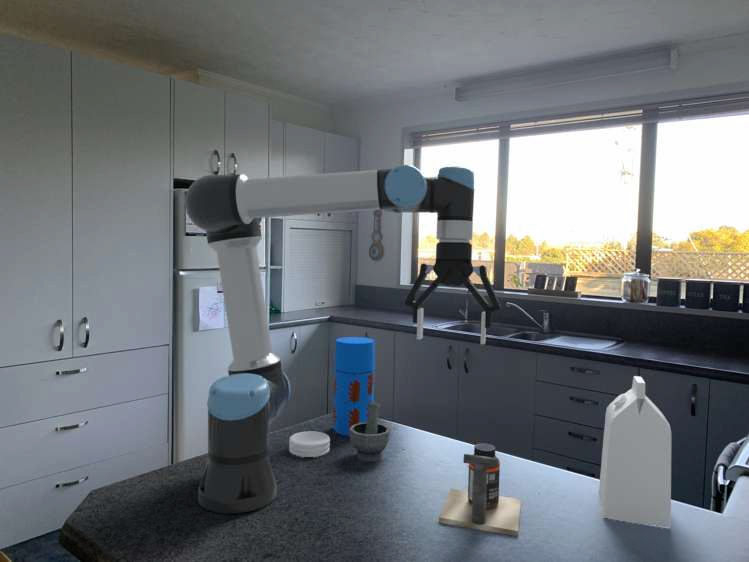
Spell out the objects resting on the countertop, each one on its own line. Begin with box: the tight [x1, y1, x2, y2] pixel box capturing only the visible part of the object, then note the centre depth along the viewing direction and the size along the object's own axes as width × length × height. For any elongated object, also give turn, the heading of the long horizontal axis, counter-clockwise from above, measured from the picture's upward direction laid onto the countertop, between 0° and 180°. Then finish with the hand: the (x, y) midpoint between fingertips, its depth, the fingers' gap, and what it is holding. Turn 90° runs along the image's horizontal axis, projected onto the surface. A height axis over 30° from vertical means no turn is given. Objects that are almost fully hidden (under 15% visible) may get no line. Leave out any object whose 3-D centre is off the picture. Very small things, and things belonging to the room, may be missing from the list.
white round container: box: [288, 430, 331, 458], centre depth 135 cm, size 10×10×4 cm
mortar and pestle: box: [349, 402, 391, 463], centre depth 132 cm, size 11×9×12 cm
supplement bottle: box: [467, 442, 501, 509], centre depth 106 cm, size 6×6×11 cm
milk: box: [598, 375, 672, 528], centre depth 107 cm, size 12×12×26 cm
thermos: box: [333, 336, 376, 437], centre depth 150 cm, size 11×11×25 cm
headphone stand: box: [438, 453, 522, 537], centre depth 104 cm, size 14×13×13 cm
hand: (450, 341), depth 117 cm, fingers open, 13 cm apart
